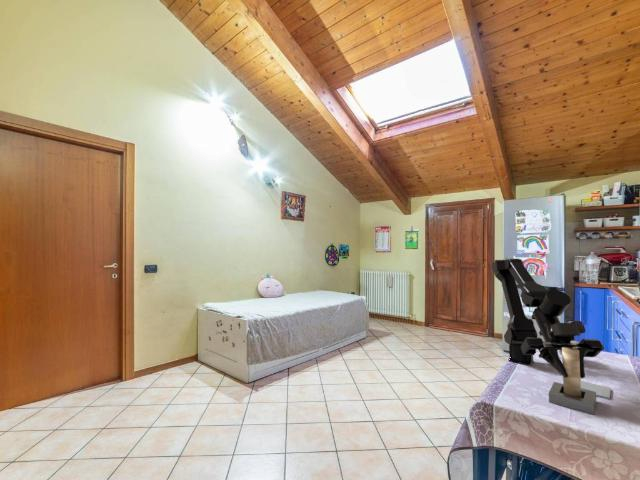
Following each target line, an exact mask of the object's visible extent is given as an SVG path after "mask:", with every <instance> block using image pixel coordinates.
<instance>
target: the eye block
mask: <svg viewBox="0 0 640 480" xmlns="http://www.w3.org/2000/svg"><path fill="white" fill-rule="evenodd" d="M548 402H549V404H550V403H551V404H555V405H558V406H561V407H564V408H565V407H566V408H569V409H572V410H575V411H579V412H583V413H586V414H590V415H595V411H596V405H597V396H596V392H594V391H590V390H586V389H582V388H581V398H578V397H574V396H570V395H567V394H564V385H563V383H560V382H555V381H553V383H552V385H551V387H550V390H549V391H548Z"/></svg>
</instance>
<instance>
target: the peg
mask: <svg viewBox="0 0 640 480" xmlns="http://www.w3.org/2000/svg"><path fill="white" fill-rule="evenodd" d="M561 358H562V359H561V362H562V364H563V366H564V368H565V370H566V372H567V375H568V377H567V378H565V377H564V376H563V375H562V380H563V382H562V384H563V385H564V394H567V395H570V396H574V397H578V398H581V381H582V380H581V377H580V359H579V350H578V349H575V348H570V347H563V348H562V355H561Z"/></svg>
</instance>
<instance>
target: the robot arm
mask: <svg viewBox="0 0 640 480" xmlns="http://www.w3.org/2000/svg"><path fill="white" fill-rule="evenodd" d="M491 271H493V273H494V277H495V278H497V279H496V280H498V281H500V283H501V287H502V290H503V294H504V299H505V301H506V307H507V310H508V314H509V320H508V322H507V324H506V327H507V330H506V331H505V333H504V334H503V339H504V342H505V343H506V344H508V348H509V349H508V350H509V352H508V353H509V358H508V359H507V360H509V359H510V360H509V362H514V363H518V364H521V365H526V366H530V365H531V364H532V363H533V361H534V356H535V355H536V353H537V350H538V352H539V354H538V357H539V358H540V359H543V360H544V361H545V362H547V363H548V364H549V365H551V366H552V367H553V368H554V369H555V370H556V371H557V372H558V373H559V374H560V375H562V377H563V376H564V377H565V378H567V377H568V375H567V372H566V370H565V368H564V366H563V363H562V359H561V358H560V356H559V352H558V351H559V350H562V348H563V347H570V348H575V349H578V350H579V359H580V379H585V377H586V375H585V363H584V359H585V358H595V357H597V356H598V355H599V354H601V352H602V351H603V350H604V349H605V346H604V345H603V343H602V341H600V339H596V338H582V339H581V340H580V341H578V342H579V343H578V344H574V343H571V342H570V341H575V337H577V336H578V337H579V336H581V334H585V333H586V327H585V324H583V322H582V320H574V321H571V322H561V321H560V318H559V317H560V316H562V315H563V314H564V312H565V311H566V309H567V308H568V307H569V305H570V304H571V302H572V300H571V296H570V295H569V294H567V293H565V292H564V291H562V290H559V289H558V288H557V287H556V286H553V287H552V286H551V287H550V286H548V288H546V287H545V286H543V285H541V284H540V283H537V282H536V281H535V279H534V278H533V277H532V275H531V274H530V273H529V271H528V270H527V268H526V266H525V265H524V262H523V260H522V259H521V258H507V259H494V262H492V263H491ZM518 287H519V288H520V291H521V294H520V292H519V289H518ZM523 305H524V306H525V307H527V308H534V309H533V311H532V315H531V318H528V317H527V315H526V313H525V310H524V306H523ZM534 320H535V322H536V324H537V326H538V328H539V332H537V330H536V328H535V325H534V324H535V323H534ZM538 334H539V336H542V337H543V339H544V341H543V339H542V338H541V337H538ZM510 357H511V358H510Z"/></svg>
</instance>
